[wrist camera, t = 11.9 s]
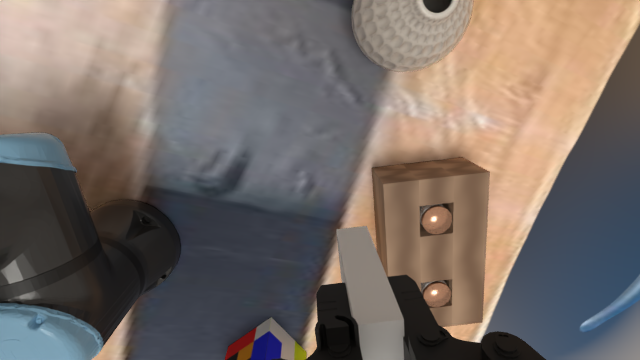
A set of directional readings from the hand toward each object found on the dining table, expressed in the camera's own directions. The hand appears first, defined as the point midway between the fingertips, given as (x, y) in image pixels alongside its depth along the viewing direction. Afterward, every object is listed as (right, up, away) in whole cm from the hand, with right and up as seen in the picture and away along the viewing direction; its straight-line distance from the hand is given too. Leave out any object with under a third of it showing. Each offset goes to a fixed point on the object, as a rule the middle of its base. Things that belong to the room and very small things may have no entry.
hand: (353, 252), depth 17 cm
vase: (+8, +25, +29) cm, 39 cm away
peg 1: (+14, 0, +36) cm, 38 cm away
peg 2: (+15, -11, +39) cm, 44 cm away
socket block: (+15, -5, +38) cm, 41 cm away
